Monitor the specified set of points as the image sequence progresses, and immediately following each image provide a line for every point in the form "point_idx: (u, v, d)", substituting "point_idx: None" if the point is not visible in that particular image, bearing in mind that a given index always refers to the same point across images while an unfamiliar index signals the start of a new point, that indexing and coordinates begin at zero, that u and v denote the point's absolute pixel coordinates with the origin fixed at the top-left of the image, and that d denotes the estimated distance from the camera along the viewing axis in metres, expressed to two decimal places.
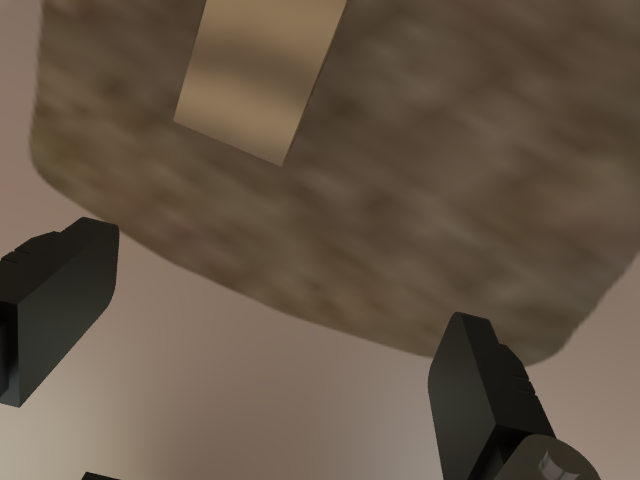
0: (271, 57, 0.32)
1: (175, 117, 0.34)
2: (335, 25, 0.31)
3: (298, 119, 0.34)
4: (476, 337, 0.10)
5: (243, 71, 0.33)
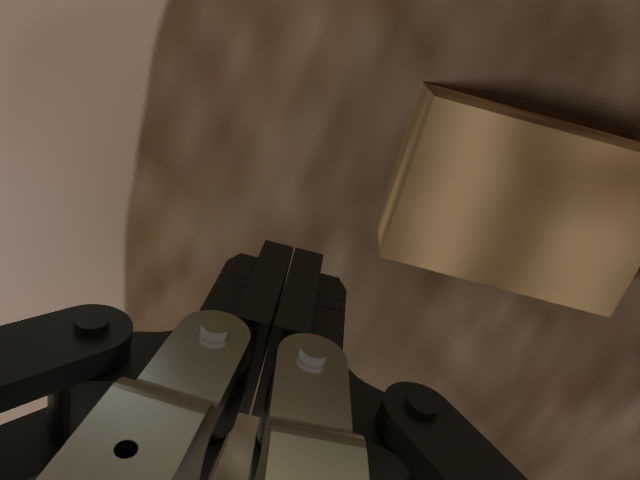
0: (531, 235, 0.24)
1: (440, 100, 0.22)
2: (568, 304, 0.25)
3: (448, 273, 0.25)
4: (299, 265, 0.11)
5: (512, 199, 0.23)
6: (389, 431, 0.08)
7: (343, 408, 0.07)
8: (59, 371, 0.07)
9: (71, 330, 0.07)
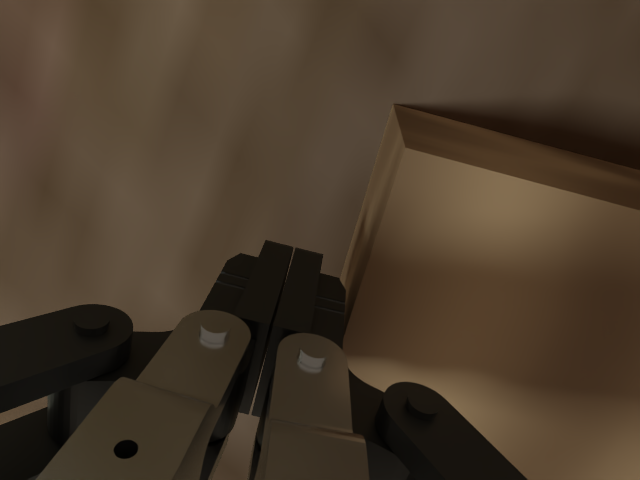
0: (606, 415, 0.12)
1: (418, 156, 0.10)
2: None
3: None
4: (299, 265, 0.11)
5: (570, 351, 0.11)
6: (389, 431, 0.08)
7: (343, 408, 0.07)
8: (59, 371, 0.07)
9: (71, 330, 0.07)
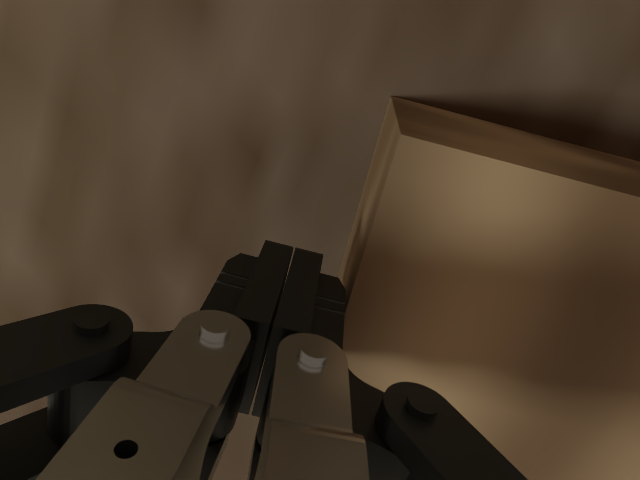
0: (602, 401, 0.12)
1: (413, 142, 0.10)
2: None
3: None
4: (299, 265, 0.11)
5: (566, 337, 0.11)
6: (389, 431, 0.08)
7: (343, 408, 0.07)
8: (59, 371, 0.07)
9: (71, 330, 0.07)
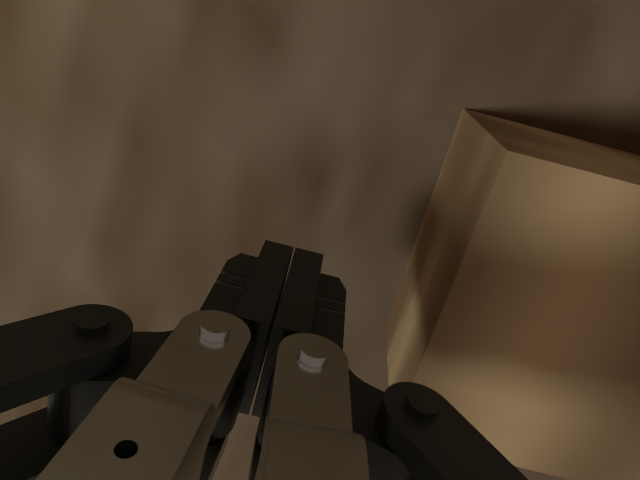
0: None
1: (519, 158, 0.10)
2: None
3: (519, 464, 0.13)
4: (299, 265, 0.11)
5: None
6: (389, 431, 0.08)
7: (343, 408, 0.07)
8: (59, 371, 0.07)
9: (71, 330, 0.07)
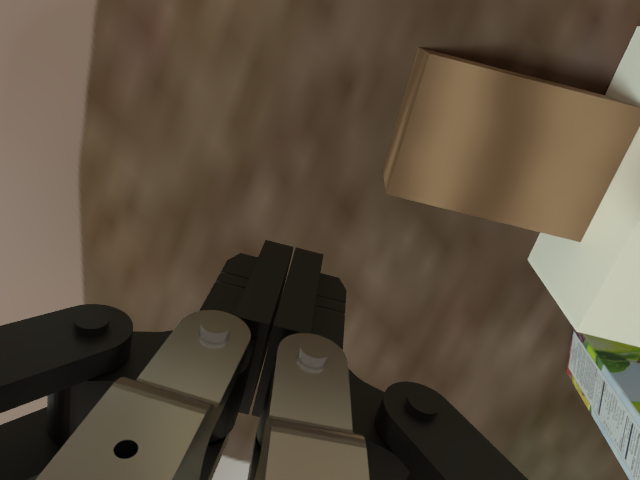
0: (513, 171, 0.28)
1: (434, 57, 0.26)
2: (546, 232, 0.30)
3: (444, 206, 0.30)
4: (299, 265, 0.11)
5: (496, 140, 0.28)
6: (389, 431, 0.08)
7: (343, 408, 0.07)
8: (59, 371, 0.07)
9: (71, 330, 0.07)
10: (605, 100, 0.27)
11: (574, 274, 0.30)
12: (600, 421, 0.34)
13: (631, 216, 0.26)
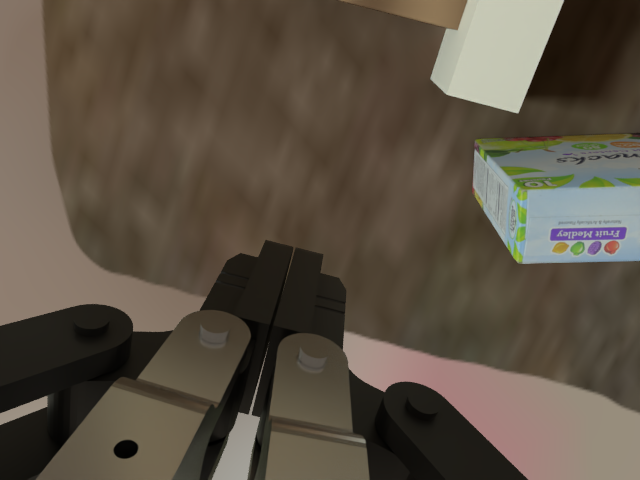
0: None
1: None
2: (428, 21, 0.35)
3: None
4: (300, 265, 0.11)
5: None
6: (389, 431, 0.08)
7: (343, 408, 0.07)
8: (59, 371, 0.07)
9: (71, 330, 0.07)
10: None
11: (451, 57, 0.35)
12: (487, 208, 0.39)
13: None
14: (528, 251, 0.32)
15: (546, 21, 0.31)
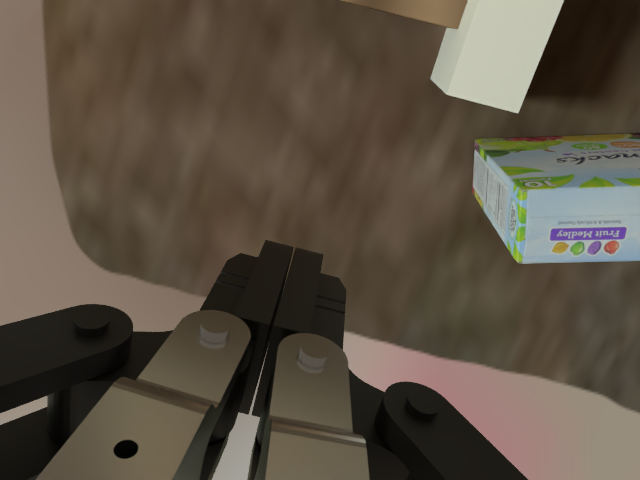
0: None
1: None
2: (428, 20, 0.35)
3: None
4: (300, 265, 0.11)
5: None
6: (389, 431, 0.08)
7: (343, 408, 0.07)
8: (59, 371, 0.07)
9: (71, 330, 0.07)
10: None
11: (451, 57, 0.35)
12: (486, 208, 0.39)
13: None
14: (528, 251, 0.32)
15: (546, 21, 0.31)
